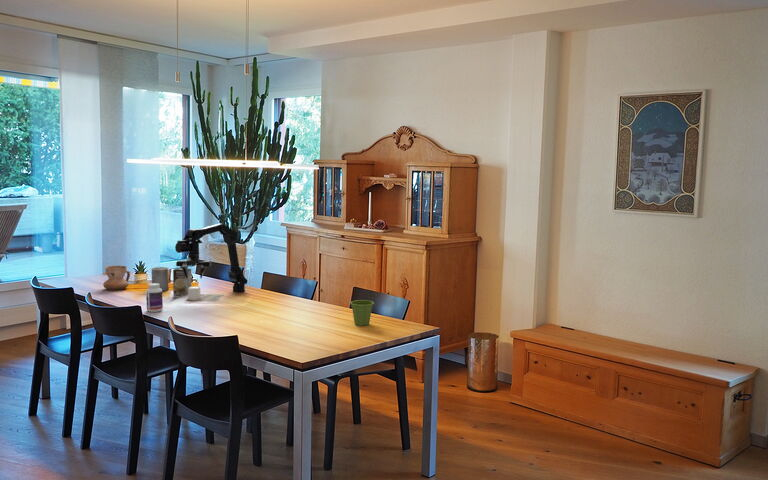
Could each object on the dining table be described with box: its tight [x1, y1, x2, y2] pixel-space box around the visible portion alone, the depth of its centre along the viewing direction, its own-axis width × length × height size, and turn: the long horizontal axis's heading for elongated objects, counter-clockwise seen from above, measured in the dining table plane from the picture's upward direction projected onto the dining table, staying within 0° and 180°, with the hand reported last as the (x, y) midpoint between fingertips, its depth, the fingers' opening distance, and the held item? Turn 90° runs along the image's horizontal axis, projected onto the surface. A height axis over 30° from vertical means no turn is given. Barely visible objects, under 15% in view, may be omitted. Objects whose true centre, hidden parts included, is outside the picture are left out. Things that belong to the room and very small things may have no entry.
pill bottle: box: [145, 283, 164, 313], centre depth 352 cm, size 8×8×14 cm
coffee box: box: [172, 267, 192, 297], centre depth 394 cm, size 9×6×16 cm
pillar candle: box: [151, 266, 170, 292], centre depth 409 cm, size 10×10×15 cm
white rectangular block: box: [187, 286, 201, 300], centre depth 379 cm, size 5×5×7 cm
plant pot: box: [349, 299, 375, 327], centre depth 330 cm, size 12×12×11 cm
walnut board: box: [184, 293, 224, 302], centre depth 384 cm, size 18×20×1 cm
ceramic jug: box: [102, 264, 131, 291], centre depth 410 cm, size 18×14×14 cm
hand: (194, 278), depth 378 cm, fingers open, 7 cm apart
